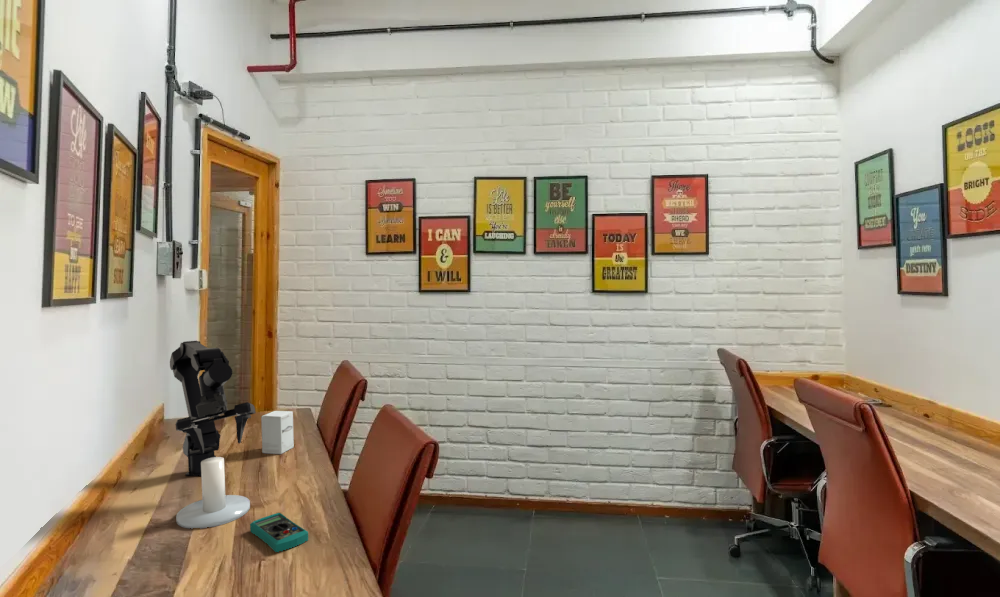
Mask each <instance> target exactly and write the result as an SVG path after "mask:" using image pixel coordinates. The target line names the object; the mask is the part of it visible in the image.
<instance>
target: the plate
mask: <svg viewBox="0 0 1000 597" xmlns="http://www.w3.org/2000/svg"><path fill="white" fill-rule="evenodd" d="M225 499H226V507H225V508H224V509H222V510H220V511H217V512H213V513H205V512H203V502H202V499H201V500H196V501H194V502H192V503H189V504H188V505H186V506H184V507H183V508H181V509H180V510H179V511H178V512H177V513H176V516H175V517H176V518H175V519H176V524H177V525H178V526H179V527H181V528H184V529H190V528H191V529H192V530H193V528H200V529H207V527H209V528H214V527H218V526H221V525H222V526H223V525H225V524H228V523H232V522H233V521H236V520H238V519H240V518H242V517H243V516H244V515H245V514H247V513H248V512H249V511H250V509H251V501H250V499H249V498H248V497H246V496H243V495H237V494H225Z"/></svg>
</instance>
